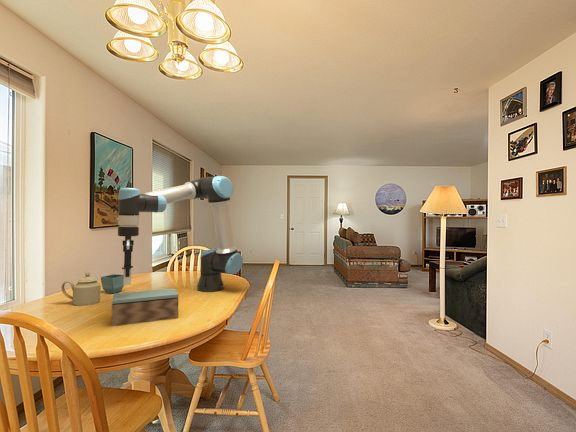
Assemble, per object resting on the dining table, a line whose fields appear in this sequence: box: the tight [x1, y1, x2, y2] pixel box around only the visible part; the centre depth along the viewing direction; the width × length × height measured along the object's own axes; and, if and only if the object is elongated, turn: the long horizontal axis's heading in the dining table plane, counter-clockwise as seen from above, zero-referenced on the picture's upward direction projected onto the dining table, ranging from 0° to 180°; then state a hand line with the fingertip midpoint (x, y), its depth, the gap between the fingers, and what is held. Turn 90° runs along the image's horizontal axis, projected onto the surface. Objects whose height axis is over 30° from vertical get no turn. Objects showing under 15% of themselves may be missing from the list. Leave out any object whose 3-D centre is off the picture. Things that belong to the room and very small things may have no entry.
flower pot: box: [100, 273, 125, 294], centre depth 167 cm, size 9×9×9 cm
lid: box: [111, 287, 179, 305], centre depth 128 cm, size 24×14×1 cm, turn 117°
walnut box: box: [111, 297, 179, 327], centre depth 128 cm, size 24×14×8 cm, turn 117°
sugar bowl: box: [61, 270, 102, 307], centre depth 146 cm, size 15×11×15 cm
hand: (127, 284), depth 124 cm, fingers closed
